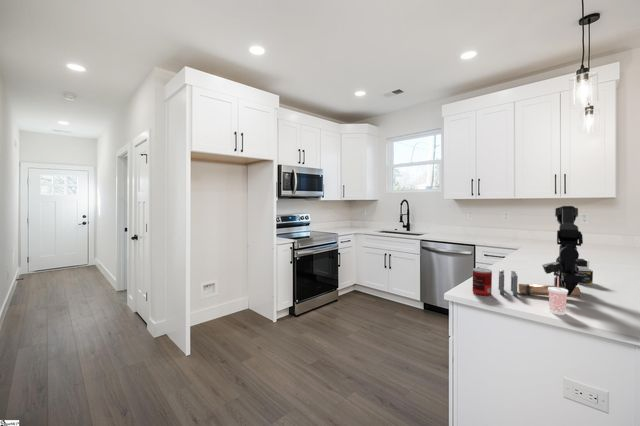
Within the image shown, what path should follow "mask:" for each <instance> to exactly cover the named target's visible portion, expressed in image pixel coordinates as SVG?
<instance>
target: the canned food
mask: <svg viewBox="0 0 640 426" xmlns="http://www.w3.org/2000/svg"><path fill="white" fill-rule="evenodd" d="M492 280H493V271H492V270H491V269H489V268H486V267H485V268H484V267H474V268H472V293H473V294H474V295H477V296H480V297H481V296H483V297H490V296H491V295H492V290H493V289H492V285H493V283H492V282H493V281H492Z"/></svg>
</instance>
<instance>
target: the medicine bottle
mask: <svg viewBox="0 0 640 426" xmlns="http://www.w3.org/2000/svg"><path fill="white" fill-rule="evenodd" d="M577 261H578V264H576V265H577V266H578V268H579V275H580V276H581V277H582V278H583V283H578V285H580V284H581V285H589V286H590V285H591V286H592V285H593V283H594V282H593V277H594V271H593V270H592V269H590V261H589V260H588V259H586V258H578V259H577Z"/></svg>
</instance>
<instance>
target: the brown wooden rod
mask: <svg viewBox="0 0 640 426" xmlns="http://www.w3.org/2000/svg"><path fill="white" fill-rule="evenodd" d="M548 287H557V286H554V285H549V284H547V285H546V284H545V285H543V284H530V283H529V284H528V283H518V292H519V294H520V295H529V296H530V295H532V296H544V297H545V296H546V297H547V296H548V297H549V291H548ZM559 288H564V289H565V286H559ZM567 298H574V299H575V298H579V299H581V289H580V287H579V286H576V287H575V289H574V290H573V292H572V293H571V295H567Z"/></svg>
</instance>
